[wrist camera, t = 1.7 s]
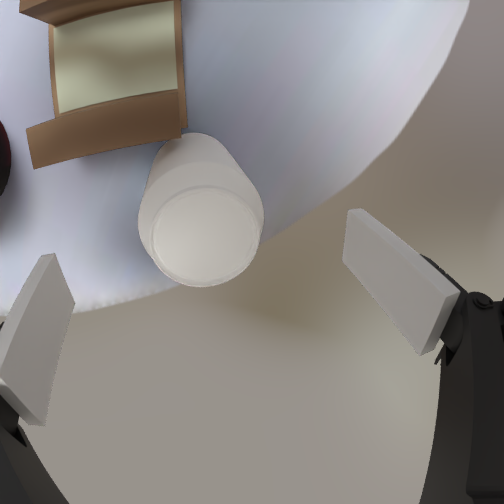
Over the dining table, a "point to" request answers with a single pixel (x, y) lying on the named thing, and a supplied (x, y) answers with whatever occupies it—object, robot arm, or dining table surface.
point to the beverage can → (199, 213)
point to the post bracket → (109, 76)
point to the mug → (4, 158)
